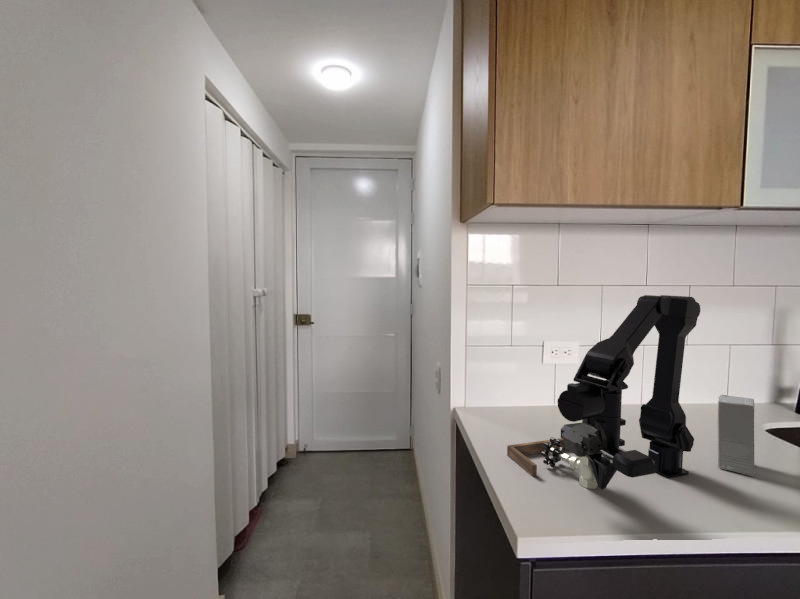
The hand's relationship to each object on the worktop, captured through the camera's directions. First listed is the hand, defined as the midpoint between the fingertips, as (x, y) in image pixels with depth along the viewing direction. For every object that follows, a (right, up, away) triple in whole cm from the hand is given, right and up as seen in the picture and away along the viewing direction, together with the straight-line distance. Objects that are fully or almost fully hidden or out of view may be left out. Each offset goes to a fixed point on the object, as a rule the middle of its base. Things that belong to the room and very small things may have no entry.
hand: (601, 488), depth 80 cm
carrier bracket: (-4, -1, +14) cm, 15 cm away
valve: (-3, -1, +8) cm, 8 cm away
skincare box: (+37, -1, +13) cm, 39 cm away
